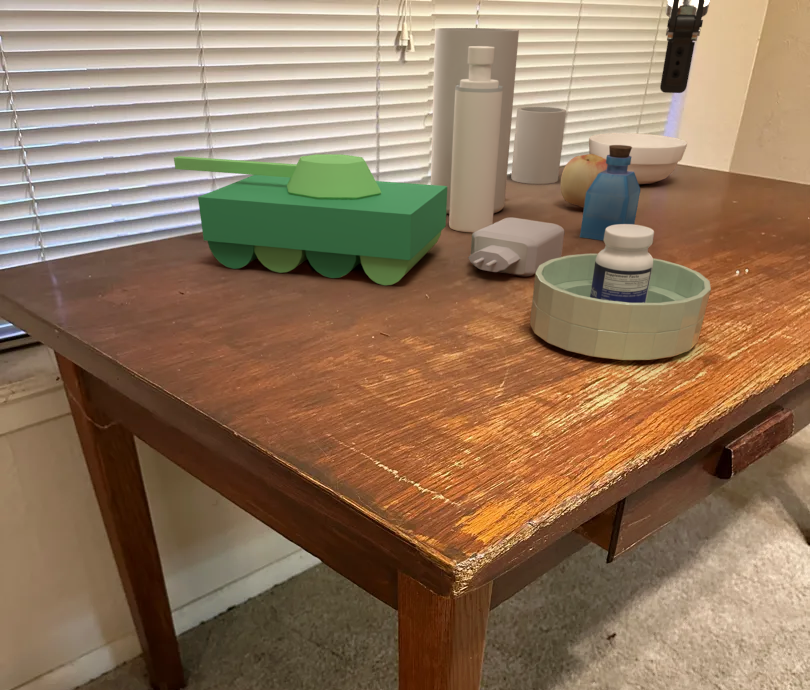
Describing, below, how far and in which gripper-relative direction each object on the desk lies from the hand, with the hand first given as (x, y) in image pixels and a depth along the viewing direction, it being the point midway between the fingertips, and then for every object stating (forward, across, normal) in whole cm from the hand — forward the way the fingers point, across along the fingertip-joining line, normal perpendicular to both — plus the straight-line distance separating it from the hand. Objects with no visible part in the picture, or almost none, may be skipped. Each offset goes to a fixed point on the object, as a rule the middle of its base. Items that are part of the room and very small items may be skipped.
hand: (672, 87), depth 69 cm
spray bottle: (+22, +36, +26) cm, 50 cm away
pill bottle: (+22, -4, +2) cm, 22 cm away
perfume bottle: (+23, +38, +5) cm, 45 cm away
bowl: (+23, +83, +4) cm, 86 cm away
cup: (+23, +78, +22) cm, 84 cm away
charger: (+22, +16, +17) cm, 32 cm away
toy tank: (+22, +13, +44) cm, 51 cm away
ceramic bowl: (+22, -4, +2) cm, 23 cm away
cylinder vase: (+22, +49, +29) cm, 61 cm away
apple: (+23, +56, +10) cm, 61 cm away
